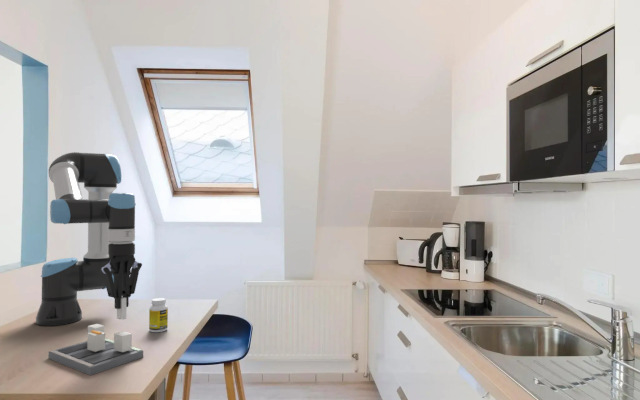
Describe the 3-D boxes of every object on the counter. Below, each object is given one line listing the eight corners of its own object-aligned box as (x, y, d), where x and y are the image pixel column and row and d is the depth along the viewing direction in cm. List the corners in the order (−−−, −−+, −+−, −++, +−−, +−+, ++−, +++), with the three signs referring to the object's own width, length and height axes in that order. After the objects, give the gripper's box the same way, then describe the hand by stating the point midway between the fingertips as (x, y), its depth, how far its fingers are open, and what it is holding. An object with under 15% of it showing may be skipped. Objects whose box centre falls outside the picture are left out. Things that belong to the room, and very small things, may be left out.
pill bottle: (161, 333, 151) (161, 301, 151) (145, 332, 152) (145, 300, 152) (171, 328, 157) (171, 297, 157) (155, 327, 158) (155, 297, 158)
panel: (48, 358, 127) (48, 351, 127) (100, 343, 140) (101, 336, 140) (90, 375, 115) (90, 367, 115) (143, 357, 128) (143, 349, 128)
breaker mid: (87, 349, 127) (87, 331, 127) (97, 346, 130) (97, 329, 130) (95, 351, 125) (95, 334, 125) (104, 348, 128) (105, 331, 128)
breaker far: (87, 341, 135) (87, 326, 135) (97, 338, 137) (97, 323, 137) (94, 343, 132) (94, 328, 132) (104, 340, 135) (104, 325, 135)
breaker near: (114, 349, 127) (114, 333, 127) (123, 346, 130) (123, 331, 130) (122, 352, 125) (122, 336, 125) (131, 349, 127) (131, 333, 127)
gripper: (108, 244, 127) (108, 325, 127) (147, 241, 138) (147, 315, 138) (94, 243, 131) (94, 321, 131) (133, 240, 142) (133, 312, 142)
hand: (121, 318), depth 134 cm, fingers closed
